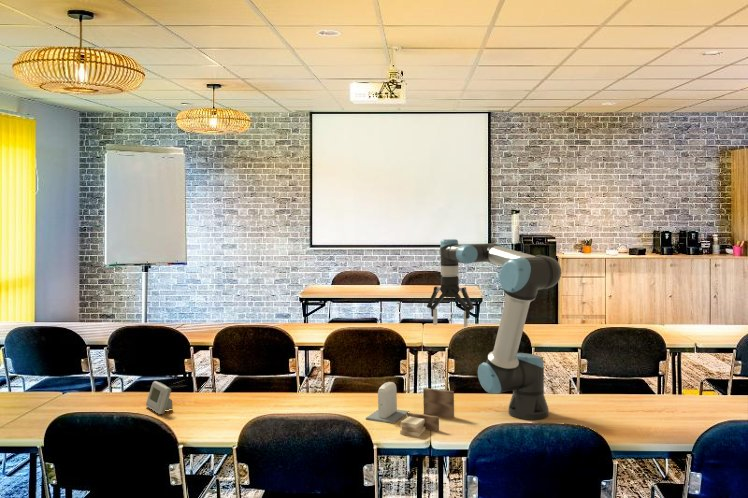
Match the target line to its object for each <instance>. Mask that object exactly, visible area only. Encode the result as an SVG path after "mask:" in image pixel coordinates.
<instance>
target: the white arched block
mask: <svg viewBox="0 0 748 498" xmlns="http://www.w3.org/2000/svg"><path fill="white" fill-rule="evenodd" d="M397 393H398V392H397V384H395V382H392V381H388V382H385V383H383V384H382V385H380V387H379V388H378V391H377V400H378V401H377V403H378V404H377V406H378V408H377V410H378V415H379V417H380V418H387V417H389V416H391V415H392V414H393V413H395V412H396V411H397V410H398V402H397V401H398V396H397Z"/></svg>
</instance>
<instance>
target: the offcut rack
mask: <svg viewBox="0 0 748 498" xmlns="http://www.w3.org/2000/svg"><path fill="white" fill-rule="evenodd" d="M422 390H423V392H422V393H423V394H422V395H423V398H422V399H423V414H421V413H420V414H419V413H415V412H414V413H413V412H409V413H407V415H406V418H408V417H409V416H410V417H416V418H422V419H425V423H424V427H425V431H426V430H427V431H434V432H440V418H441V417H442V418H451V419H454V418H455V391H454V390H445V389H436V388H428V387H424V388H423V389H422Z"/></svg>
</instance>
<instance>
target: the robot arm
mask: <svg viewBox="0 0 748 498" xmlns="http://www.w3.org/2000/svg"><path fill="white" fill-rule="evenodd" d="M439 247H440V248H439V251H440V252H439V253H440V257H439V258H440V286H438V285H437V286H434V287H433V292H432V295H431V296H430V299H429V301H428V303H427V305H426V307H427V308H428V309H430V312H431V313H430V314H431V317H432V318H433V321H432V323H433V326H436V325H438V309H437V307H438V306H439V304H440V303H441V302H442V301H443V299H444V298H446V299H448V298H451V299H453V298H454V299H455V300H456V301H458V303H459V304H460V306H461V307H462V308H463V309H464V311H463V327H464V328H466V327H468V324H469V323H468V320H469V319H470V317H471V316H470V314H471V313H470V312H471V311H472V310H474V309H475V307H474V305H473V303H472V301H471V299H470V297H469V295H468V292H467V287H465V286H464V287H460V285H459V284H460V282H459V278H460V277H459V276H458V275H459V264H465V265H466V264H473V263H484V262H486V263H490V264H494V265H497V266H500V267H501V269H500V272H499V280H500V281H499V284H500V286H501V287H502V291H503V293H504V295H506V296H505V299H504V304H503V305H504V306H503V309H502V313H501V317H500V321H499V325H498V329H497V334H496V337H495V343H494V346H493V350H492V351H490V352H489V353H488V354H487V358H486V362H482V363H480V364H479V365H478V367H477V368H478V369H477V377H478V382H479V383H480V386H481V387H482V388H483V390H484V391H485V392H486V393H488V394H492V395H493V394H500V393H505V392H510V391H512V395H511V398H510V400H509V404H508V414H509V415H510V416H511V417H514V418H517V419H521V420H529V421H530V420H542V419H545V418H547V417H549V416H550V415H549V410H550V409H549V405H548V403H547V400H546V396H545V383H544V381H545V380H544V379H545V375H544V374H545V367H544V359H543V357H541V356H540V355H537V354H532V353H526V352H525V353H524V352H519V347H520V344H521V338H522V336H523V332H524V329H525V328H524V327H525V324H526V320H527V317H528V313H529V309H530V304H531V302H533V301H535V300H536V298H537V295H538V291H539V290H546V289H550V288H553V287H554V286H555V285H557V284H558V282H560V279H561V277H562V268H561V267H562V266H561V264H560V263H559V262H558V260H557V259H556V258H553V257H551V256H547V255H543V254H537V255H533V254H528V253H526V252H525V253H524V252H522V251H519V250H518V251H517V250H514V249H510V248H507V247H503V246H502V245H501V244H500V243H495V242H491V243H490V242H489V243H472V244H459V241H458V239H455V238H449V239H445V238H444V239H442V240H441V241H440V246H439ZM438 292H441V294H440V296H439V297H438V298H437V299H436V297H437V296H438ZM459 292H460V293H461V294H462V296H463V298H464V299H463V298H462V297H461V295H460V293H459ZM435 300H436V301H435Z"/></svg>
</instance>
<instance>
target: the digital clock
mask: <svg viewBox="0 0 748 498" xmlns="http://www.w3.org/2000/svg"><path fill="white" fill-rule="evenodd" d="M171 393H172V388H170V387H168V386H167V385H166V384H164V383H162V382H159V381H156V380H154V381H153V382H152V384H151V387H150V390H149V393H148V397H147V399H146V402H145V406H146V407H147V408H148V409H150V410H151V409H152V410H153V412H154V411H155V412H156V413H155V412H154V413H155V414H157V413H158V414H157V415H159V414H162V415H164V414H165V413H166V412H165V410H169V409H173V399H171V398H170V397H171ZM152 410H151V411H152ZM173 410H174V409H173Z"/></svg>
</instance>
